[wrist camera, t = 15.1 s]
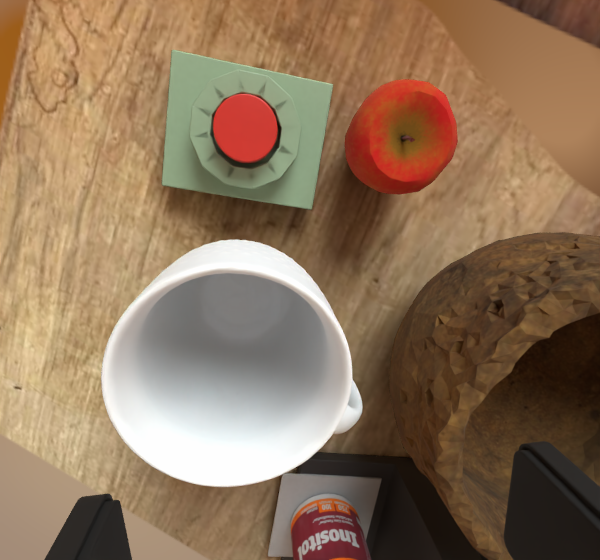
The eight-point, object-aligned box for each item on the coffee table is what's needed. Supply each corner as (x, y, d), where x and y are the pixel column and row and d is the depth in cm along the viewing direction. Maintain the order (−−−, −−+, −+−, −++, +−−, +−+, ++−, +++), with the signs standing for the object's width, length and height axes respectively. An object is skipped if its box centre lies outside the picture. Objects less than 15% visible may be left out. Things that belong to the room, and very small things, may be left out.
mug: (375, 307, 30) (461, 396, 18) (295, 407, 32) (321, 554, 19) (222, 194, 27) (193, 206, 14) (139, 313, 28) (46, 420, 16)
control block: (168, 185, 26) (153, 185, 22) (178, 60, 24) (164, 37, 20) (307, 207, 28) (316, 212, 24) (327, 92, 26) (339, 76, 22)
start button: (212, 157, 23) (209, 156, 21) (219, 94, 22) (216, 86, 20) (271, 168, 23) (272, 167, 22) (280, 106, 22) (282, 100, 21)
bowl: (375, 206, 28) (500, 233, 14) (592, 231, 31) (884, 273, 17) (341, 422, 33) (408, 610, 18) (533, 427, 35) (722, 594, 21)
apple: (340, 92, 26) (372, 58, 19) (422, 110, 27) (483, 83, 20) (324, 184, 27) (348, 185, 20) (402, 198, 28) (453, 203, 21)
